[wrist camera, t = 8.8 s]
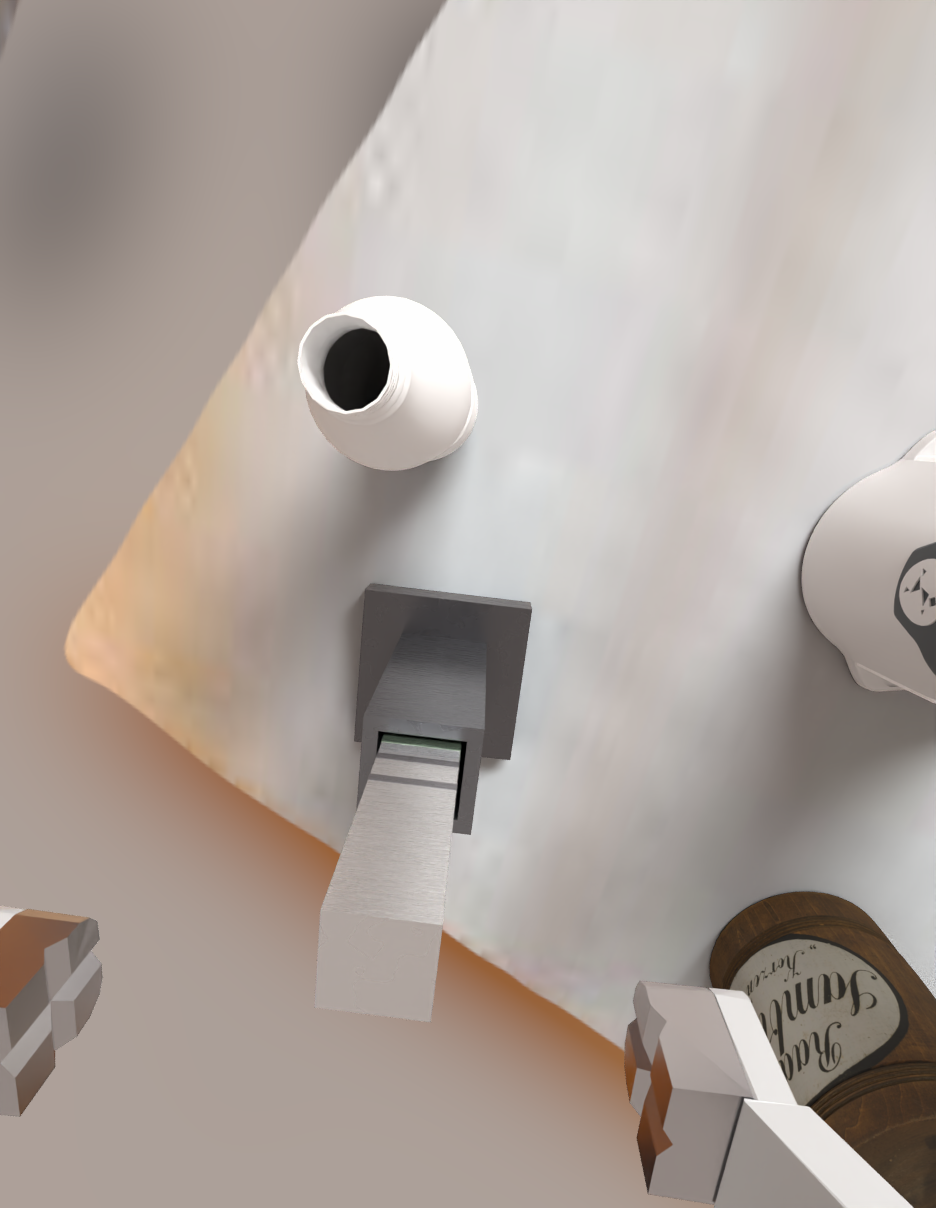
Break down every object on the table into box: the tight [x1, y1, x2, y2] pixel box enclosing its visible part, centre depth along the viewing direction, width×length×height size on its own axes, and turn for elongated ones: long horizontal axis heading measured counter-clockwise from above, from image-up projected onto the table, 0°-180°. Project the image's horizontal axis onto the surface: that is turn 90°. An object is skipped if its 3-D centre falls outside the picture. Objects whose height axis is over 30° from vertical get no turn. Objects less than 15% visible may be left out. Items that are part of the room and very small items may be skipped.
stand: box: [354, 583, 532, 835], centre depth 40 cm, size 12×12×17 cm
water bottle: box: [297, 296, 478, 471], centre depth 31 cm, size 7×7×25 cm
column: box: [314, 732, 462, 1022], centre depth 30 cm, size 4×4×20 cm
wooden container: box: [710, 892, 936, 1208], centre depth 43 cm, size 15×15×22 cm
